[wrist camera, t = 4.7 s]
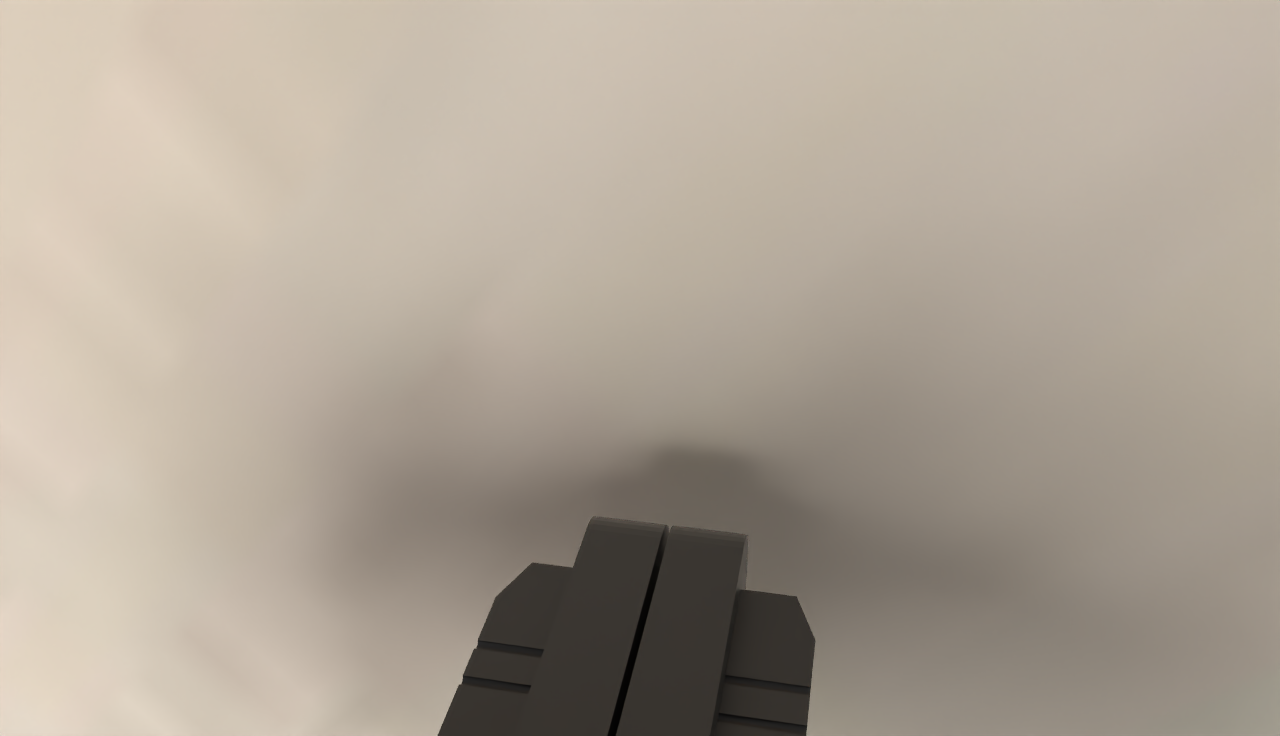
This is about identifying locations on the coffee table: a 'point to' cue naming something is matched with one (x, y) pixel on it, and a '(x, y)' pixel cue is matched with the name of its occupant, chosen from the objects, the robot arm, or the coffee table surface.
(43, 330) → the coffee table surface
